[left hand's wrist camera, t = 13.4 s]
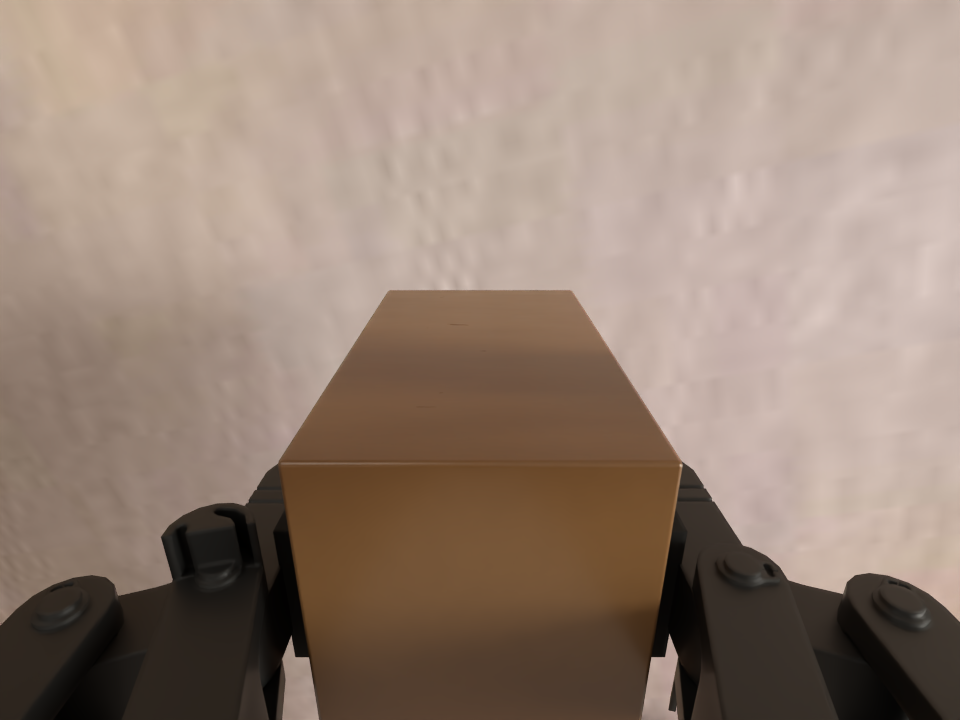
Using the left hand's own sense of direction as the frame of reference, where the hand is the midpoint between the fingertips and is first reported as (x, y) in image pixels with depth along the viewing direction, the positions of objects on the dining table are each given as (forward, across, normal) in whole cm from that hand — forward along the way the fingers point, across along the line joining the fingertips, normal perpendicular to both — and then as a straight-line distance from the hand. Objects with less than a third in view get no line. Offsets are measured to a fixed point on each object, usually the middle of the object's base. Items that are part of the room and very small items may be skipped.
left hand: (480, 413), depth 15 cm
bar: (+1, 0, -10) cm, 10 cm away
